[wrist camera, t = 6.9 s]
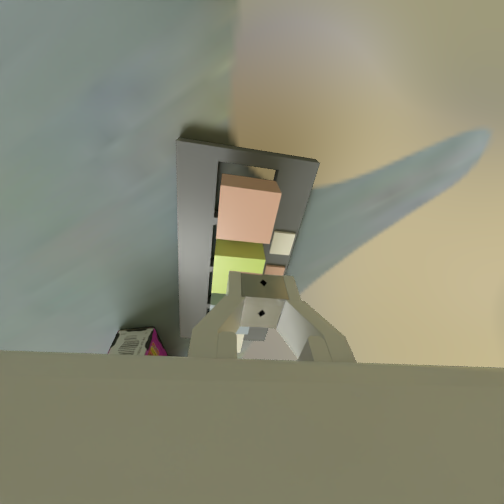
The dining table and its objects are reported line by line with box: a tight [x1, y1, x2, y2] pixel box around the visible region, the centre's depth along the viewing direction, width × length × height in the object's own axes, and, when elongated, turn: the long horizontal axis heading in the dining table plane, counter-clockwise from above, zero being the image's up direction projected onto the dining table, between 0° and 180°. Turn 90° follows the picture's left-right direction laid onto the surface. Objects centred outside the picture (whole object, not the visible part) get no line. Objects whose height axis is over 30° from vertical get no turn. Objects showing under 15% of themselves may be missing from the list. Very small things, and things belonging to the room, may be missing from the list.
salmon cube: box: [216, 173, 282, 244], centre depth 18 cm, size 4×4×4 cm
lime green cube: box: [211, 239, 266, 294], centre depth 21 cm, size 4×4×4 cm
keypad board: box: [176, 138, 320, 341], centre depth 25 cm, size 23×11×2 cm, turn 171°
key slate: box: [210, 293, 249, 334], centre depth 24 cm, size 4×4×4 cm
